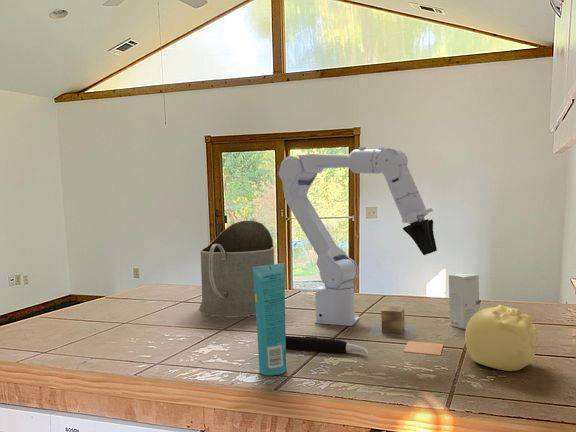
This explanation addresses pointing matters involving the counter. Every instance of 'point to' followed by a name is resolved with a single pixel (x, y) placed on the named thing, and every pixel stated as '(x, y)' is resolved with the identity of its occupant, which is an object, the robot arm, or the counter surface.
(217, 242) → the grey fabric basket
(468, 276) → the skincare box
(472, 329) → the sculpture
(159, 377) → the counter surface
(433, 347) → the pad
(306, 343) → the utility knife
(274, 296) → the tube
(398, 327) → the walnut block
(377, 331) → the tile
